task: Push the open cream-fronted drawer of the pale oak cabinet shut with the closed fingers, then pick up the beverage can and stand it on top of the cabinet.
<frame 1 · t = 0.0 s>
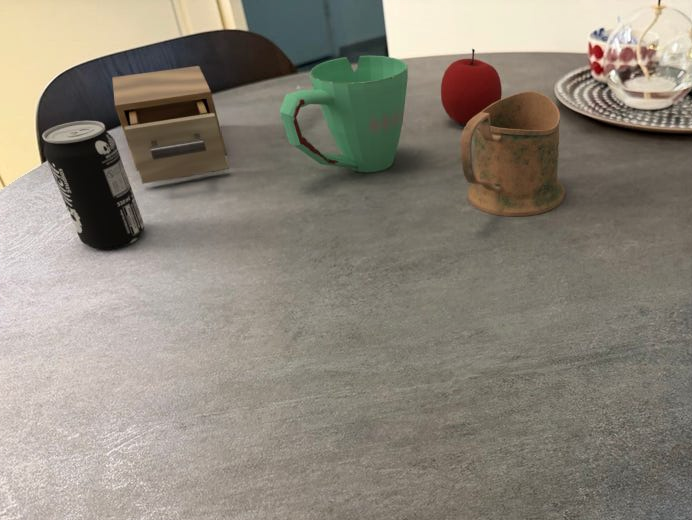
drawer: (175, 139, 89), point 4 cm above the table, slide at 6.0 cm
apple: (471, 122, 104), on the table
mug 2: (504, 206, 81), on the table
beverage can: (115, 239, 77), on the table
cabinet: (178, 146, 99), on the table
mug: (354, 172, 91), on the table
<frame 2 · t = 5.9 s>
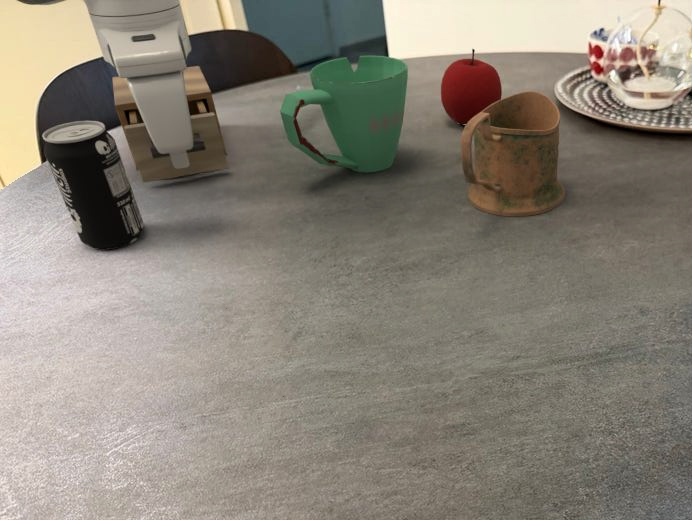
hand: (181, 164, 82), 4 cm above the table, tool pointing down, fingers closed
drawer: (175, 138, 89), point 4 cm above the table, slide at 5.7 cm, touching gripper
everything else where it was.
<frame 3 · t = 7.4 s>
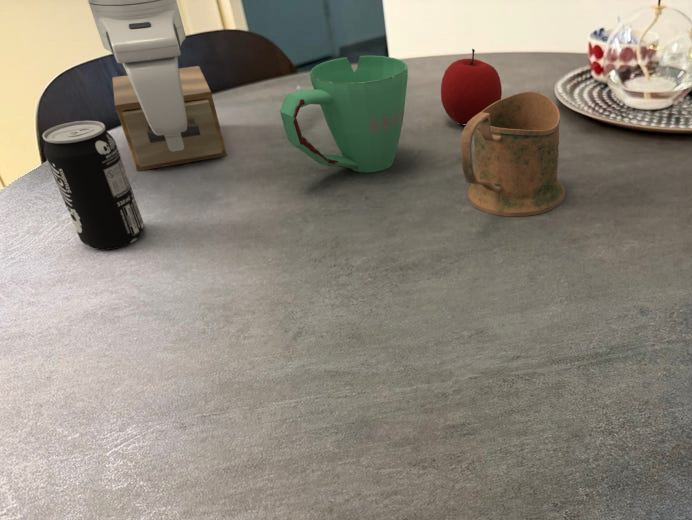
hand: (176, 147, 86), 4 cm above the table, tool pointing down, fingers closed
drawer: (171, 124, 93), point 4 cm above the table, slide at 0.0 cm, touching cabinet, gripper
everything else where it was.
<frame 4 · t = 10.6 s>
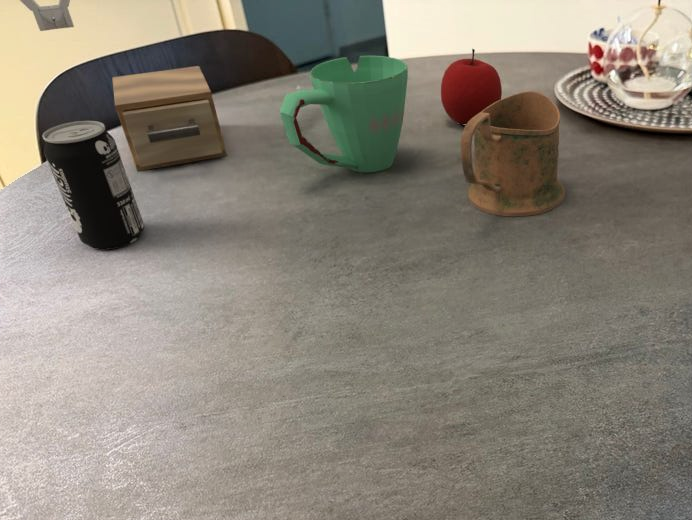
hand: (57, 28, 66), 21 cm above the table, tool pointing down, fingers closed
drawer: (171, 124, 93), point 4 cm above the table, slide at 0.0 cm
everything else where it was.
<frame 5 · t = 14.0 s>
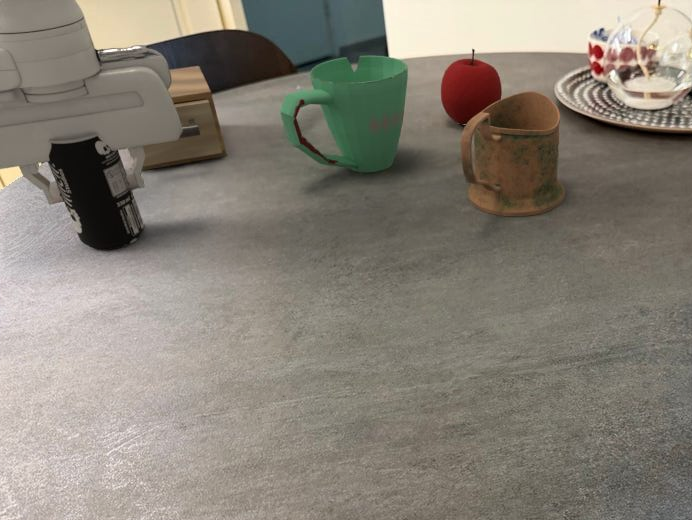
hand: (97, 194, 74), 5 cm above the table, tool pointing down, fingers closed on beverage can, 6 cm apart
beverage can: (115, 239, 77), on the table, touching gripper
everything else where it was.
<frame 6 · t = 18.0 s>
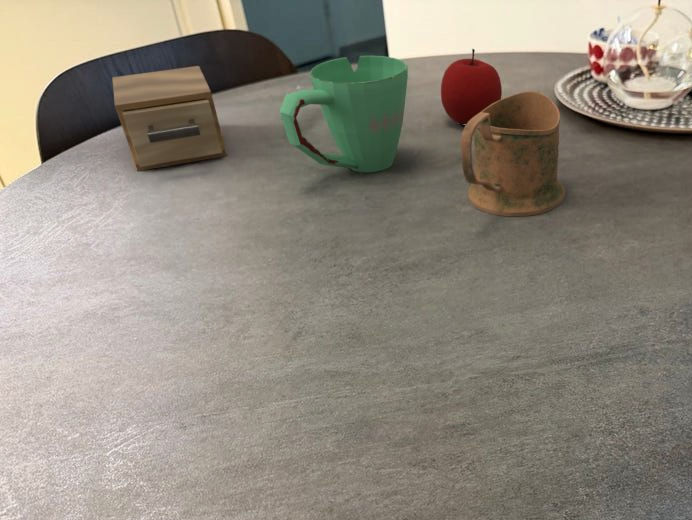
when the fingers open (14 cm above the table, at t = 22.0 s): beverage can stays where it is, resting on cabinet.
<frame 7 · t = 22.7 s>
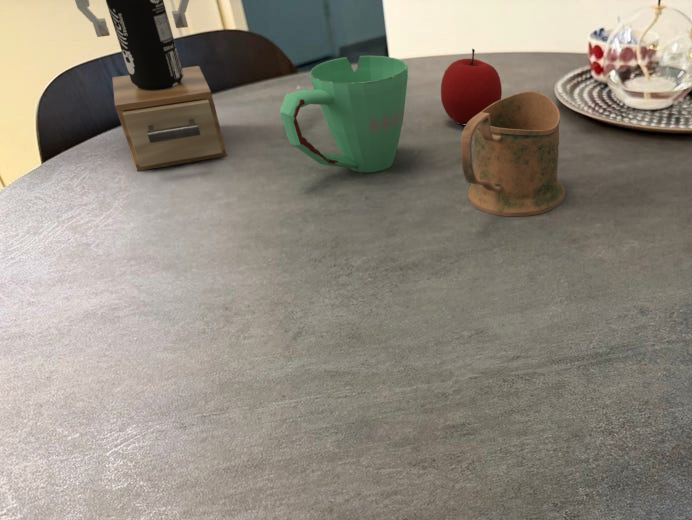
hand: (143, 31, 90), 15 cm above the table, tool pointing down, fingers open, 8 cm apart
beverage can: (160, 85, 94), point 8 cm above the table, touching cabinet
everything else where it was.
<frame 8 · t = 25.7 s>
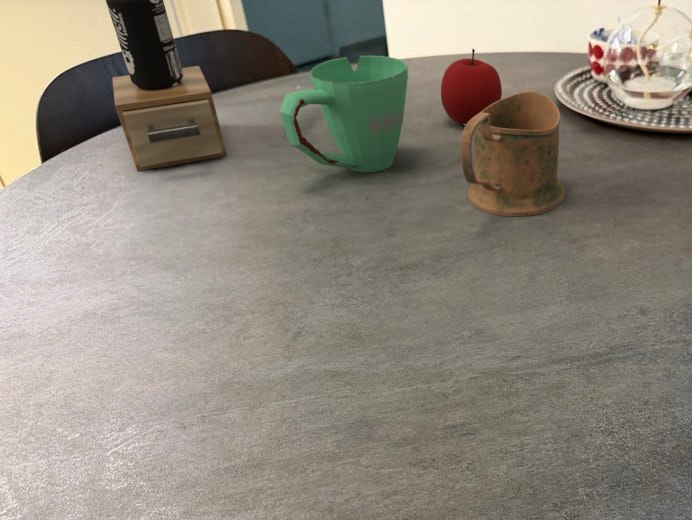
nothing on the table moved.
at the end: drawer slide at 0.0 cm; beverage can inside the target area on the cabinet (0.0 cm from its centre), point 8.4 cm above the cabinet's base; beverage can tilted 0° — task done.
